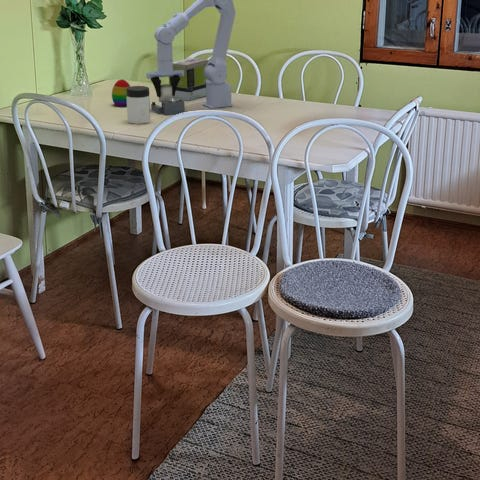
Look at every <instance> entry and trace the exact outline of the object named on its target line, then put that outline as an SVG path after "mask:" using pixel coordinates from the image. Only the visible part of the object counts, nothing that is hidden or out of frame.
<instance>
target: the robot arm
mask: <svg viewBox="0 0 480 480" xmlns="http://www.w3.org/2000/svg"><path fill="white" fill-rule="evenodd" d="M211 7H215V9H216V10H217V11H218V13H219V15H220V16H219V17H220V18H219V20H218V21H219V22H218V25H217V31H216V35H215V41H214V44H213V45H214V46H213V50H212V52H211V53H212V54H211V56H210V57H209V59H208V60H209V61H208V64H207V66H206V67H205V69H204V75H205V77H206V78H207V81H206V96H205V98H206V99H205V100H206V101H205V102H202V106H205V107H207V108H209V109H216V108H226V107H233V104H232V86H231V84H230V82H228V81H226V80H227V79H228V78H227V77H228V72H227V67H228V65H227V61H226V57H227V53H228V48H229V45H230V44H229V43H230V40H231V36H232V35H231V34H232V30H233V25H234V23H235V22H234V21H235V17H236V8H235V6H234V2H233V0H196V1H194V2H193V3H192V4H191V5H190V6H189V7H188V8H187V9H186V10H185V11H184V12H177V13H174V14H172V17H171V18H170V19H169V20H168V21H166V22H164V23H163V26H159V27H157V28H156V30H155V32H154V34H153V35H154V38H155V40H156V61H157V64H156V65H157V70H156V71H151V72H146V74H145V75H146V79H149V80H150V81H151V83H152V85H153V87H154V90H155V94H156V97H158V98H159V97H161V89H160V88H161V85H162V79H161V78H169V77H170V83H171V86H172V96H175V92H176V88H177V85H178V83H179V81H180V77H179V76H184V71H183V70H173V62H174V61H173V42H174V40H175V37H176V36H177V35H179V34H180V33H181V31H183V30H184V29H185V28H187V27H188V26H189V23H190V20H191V19H192V18H193V17H195V16H196V15H197V14H199V13H201V11H203V10H204V9H206V8H211Z"/></svg>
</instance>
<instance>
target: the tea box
mask: <svg viewBox="0 0 480 480" xmlns="http://www.w3.org/2000/svg"><path fill="white" fill-rule="evenodd" d="M208 61H209V59H203V58H197V57H189V58H183V59H179V60H175V61H173V70H183V71H184V76H179V77H180V81H179V83H178V85H177V88H176V92H175V96H172V98H173V99H177V100H178V99H179V100H183V101H184V102H185V101H187V102H189V101H192V100H195V99H199V98H203V97H206V81H207V78H206V77H205V75H204V69H205V67H206V66H207V64H208ZM168 84H169V85H170V86H171V83H170V77H168Z"/></svg>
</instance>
